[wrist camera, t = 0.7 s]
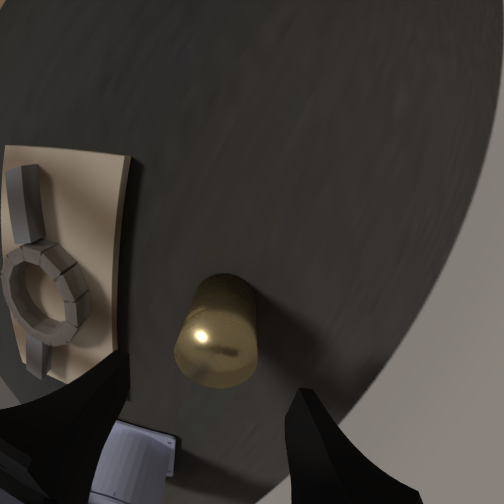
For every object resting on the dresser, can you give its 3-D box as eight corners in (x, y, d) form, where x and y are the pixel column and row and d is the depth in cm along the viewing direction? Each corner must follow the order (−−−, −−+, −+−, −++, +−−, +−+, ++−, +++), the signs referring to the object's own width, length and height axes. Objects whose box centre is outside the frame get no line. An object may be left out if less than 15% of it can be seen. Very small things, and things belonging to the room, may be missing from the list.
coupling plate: (120, 395, 22) (109, 418, 19) (27, 356, 21) (12, 373, 18) (131, 156, 16) (109, 157, 13) (13, 144, 15) (-13, 146, 12)
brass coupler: (248, 332, 20) (247, 393, 14) (190, 320, 19) (171, 379, 14) (262, 280, 18) (267, 333, 13) (199, 267, 18) (178, 315, 12)
